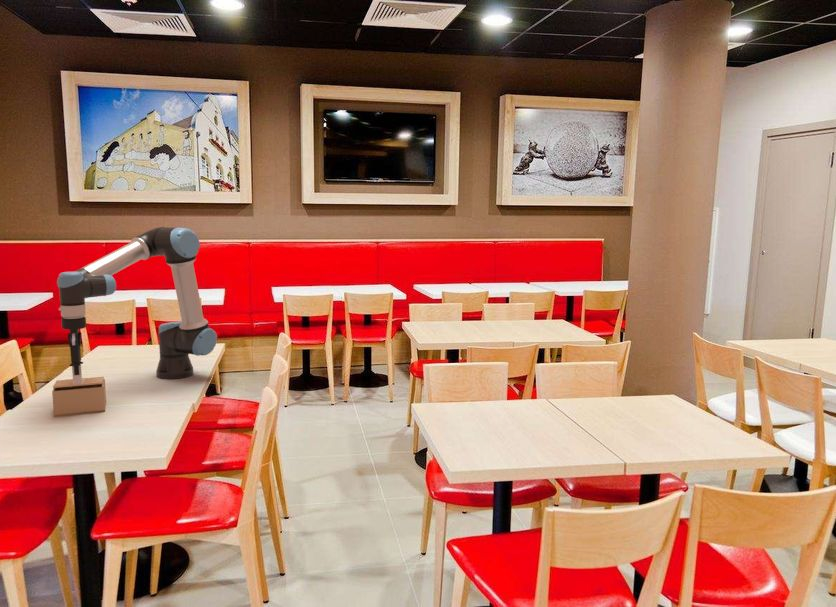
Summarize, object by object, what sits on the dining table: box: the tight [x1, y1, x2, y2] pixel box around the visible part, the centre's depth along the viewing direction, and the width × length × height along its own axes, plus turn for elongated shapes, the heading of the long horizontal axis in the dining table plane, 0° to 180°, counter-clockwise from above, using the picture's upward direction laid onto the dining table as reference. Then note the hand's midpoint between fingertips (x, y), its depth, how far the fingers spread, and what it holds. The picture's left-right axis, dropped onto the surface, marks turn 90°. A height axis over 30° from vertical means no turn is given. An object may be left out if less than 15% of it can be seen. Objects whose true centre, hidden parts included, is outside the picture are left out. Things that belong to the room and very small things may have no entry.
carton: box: [51, 378, 107, 418], centre depth 238 cm, size 16×12×9 cm
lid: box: [52, 376, 105, 389], centre depth 237 cm, size 15×12×1 cm
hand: (77, 383), depth 233 cm, fingers closed
